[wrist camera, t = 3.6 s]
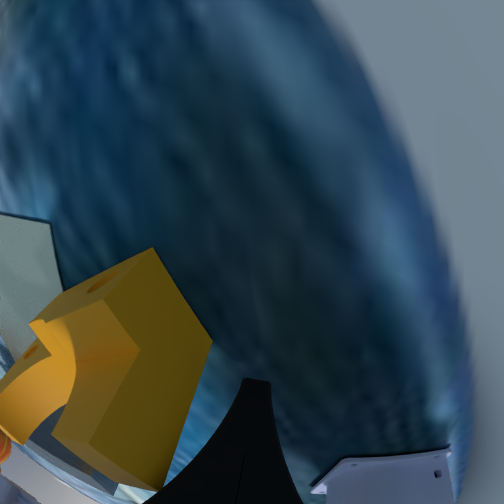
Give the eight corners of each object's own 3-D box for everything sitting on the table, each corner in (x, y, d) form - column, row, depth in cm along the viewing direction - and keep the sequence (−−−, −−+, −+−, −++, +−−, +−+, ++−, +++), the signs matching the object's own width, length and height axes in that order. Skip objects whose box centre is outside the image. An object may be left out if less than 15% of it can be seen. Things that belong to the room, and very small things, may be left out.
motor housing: (50, 223, 10) (-37, 283, 5) (131, 454, 20) (113, 496, 15) (-52, 203, 11) (-100, 232, 6) (30, 402, 21) (9, 433, 16)
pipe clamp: (152, 246, 10) (29, 388, 4) (212, 341, 11) (160, 492, 5) (19, 316, 13) (-42, 382, 7) (60, 369, 14) (12, 440, 9)
